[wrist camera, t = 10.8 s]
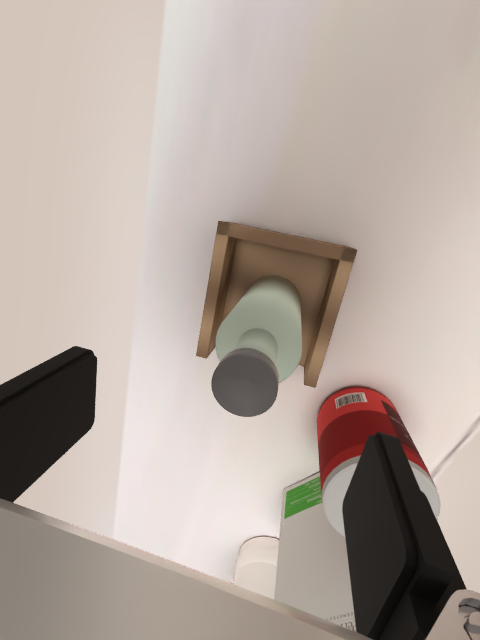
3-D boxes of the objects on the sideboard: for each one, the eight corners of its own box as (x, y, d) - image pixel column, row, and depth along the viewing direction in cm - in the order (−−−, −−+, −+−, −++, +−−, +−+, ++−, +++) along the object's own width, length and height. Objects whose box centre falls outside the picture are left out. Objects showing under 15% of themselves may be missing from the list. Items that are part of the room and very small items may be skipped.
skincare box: (342, 459, 34) (371, 633, 19) (377, 504, 35) (431, 705, 20) (279, 489, 37) (263, 663, 22) (313, 530, 37) (319, 725, 23)
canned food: (302, 426, 34) (301, 513, 23) (345, 369, 31) (366, 438, 21) (364, 463, 34) (391, 567, 23) (413, 409, 31) (468, 499, 21)
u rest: (231, 222, 30) (218, 220, 25) (349, 247, 28) (357, 249, 24) (210, 339, 33) (196, 355, 29) (313, 366, 32) (315, 387, 27)
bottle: (252, 269, 30) (197, 319, 14) (307, 282, 29) (317, 349, 13) (241, 321, 31) (181, 419, 15) (293, 333, 31) (286, 450, 15)
